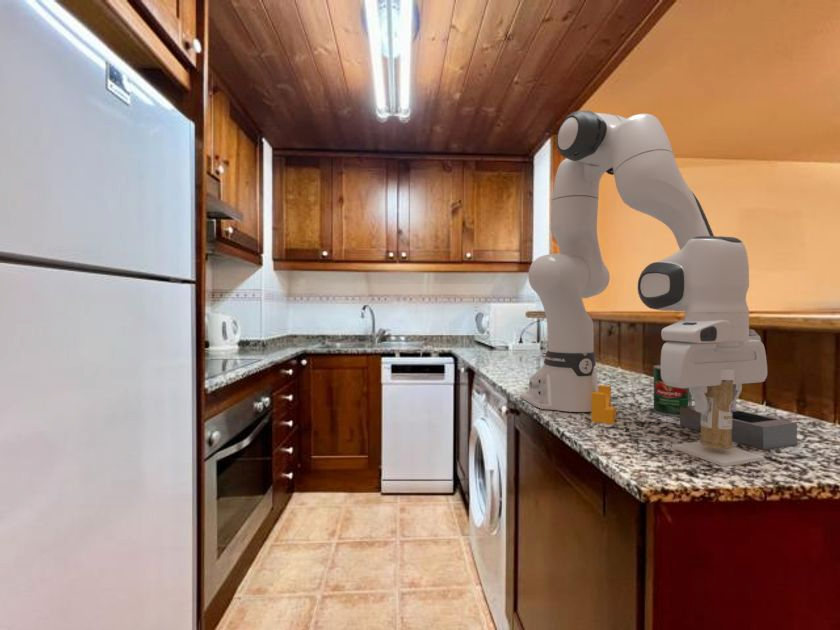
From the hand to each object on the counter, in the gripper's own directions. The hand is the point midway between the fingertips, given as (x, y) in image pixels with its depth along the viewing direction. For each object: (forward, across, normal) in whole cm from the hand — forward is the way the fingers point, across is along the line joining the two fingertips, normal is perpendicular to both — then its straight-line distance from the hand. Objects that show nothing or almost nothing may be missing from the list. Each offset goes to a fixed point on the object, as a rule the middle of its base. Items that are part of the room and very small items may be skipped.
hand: (715, 410), depth 68 cm
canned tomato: (+8, -18, -24) cm, 31 cm away
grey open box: (+7, -14, -7) cm, 17 cm away
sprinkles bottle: (+6, 0, 0) cm, 6 cm away
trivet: (+7, 0, 0) cm, 7 cm away
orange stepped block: (+8, 0, -26) cm, 27 cm away
